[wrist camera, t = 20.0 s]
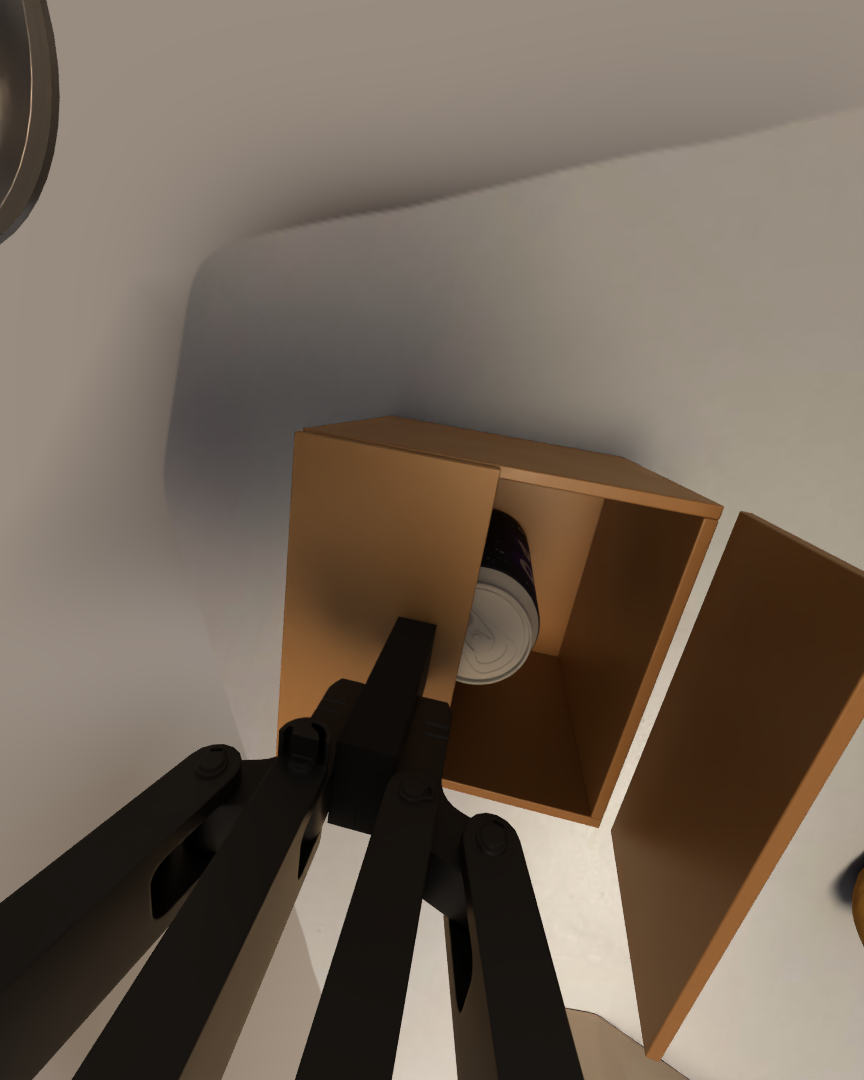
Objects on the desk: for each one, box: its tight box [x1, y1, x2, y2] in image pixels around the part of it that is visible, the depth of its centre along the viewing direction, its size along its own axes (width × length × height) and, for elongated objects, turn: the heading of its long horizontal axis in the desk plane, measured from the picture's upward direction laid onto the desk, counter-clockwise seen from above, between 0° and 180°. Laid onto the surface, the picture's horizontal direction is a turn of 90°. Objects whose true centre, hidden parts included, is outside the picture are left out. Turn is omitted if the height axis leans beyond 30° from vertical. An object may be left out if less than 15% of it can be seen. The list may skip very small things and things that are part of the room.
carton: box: [303, 416, 864, 1062], centre depth 21 cm, size 16×15×21 cm
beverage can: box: [456, 511, 540, 685], centre depth 24 cm, size 6×6×12 cm
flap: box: [276, 431, 501, 756], centre depth 18 cm, size 7×15×1 cm, turn 170°
